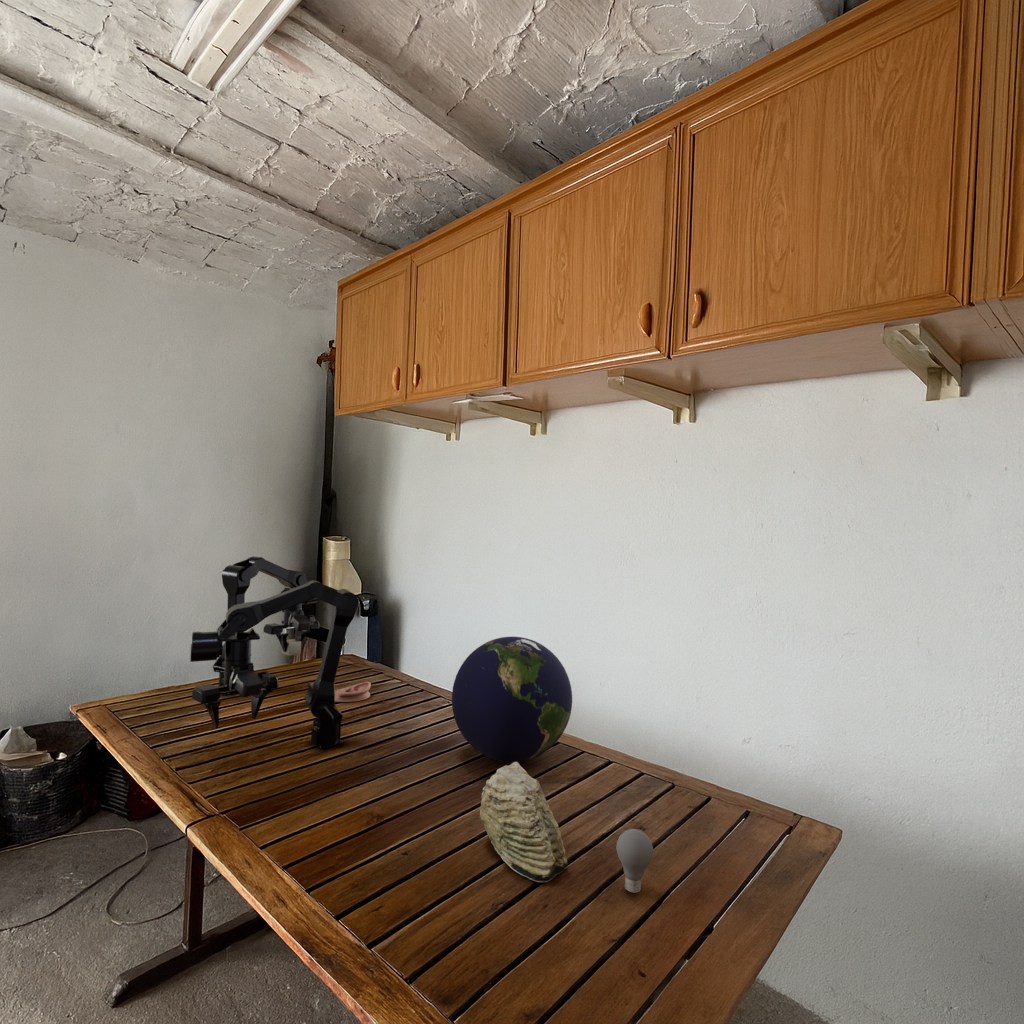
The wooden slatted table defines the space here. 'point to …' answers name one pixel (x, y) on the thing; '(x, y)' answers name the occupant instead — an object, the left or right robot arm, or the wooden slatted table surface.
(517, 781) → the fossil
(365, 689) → the anatomical model
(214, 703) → the right robot arm
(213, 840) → the wooden slatted table surface
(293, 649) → the block
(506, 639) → the globe
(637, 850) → the light bulb
